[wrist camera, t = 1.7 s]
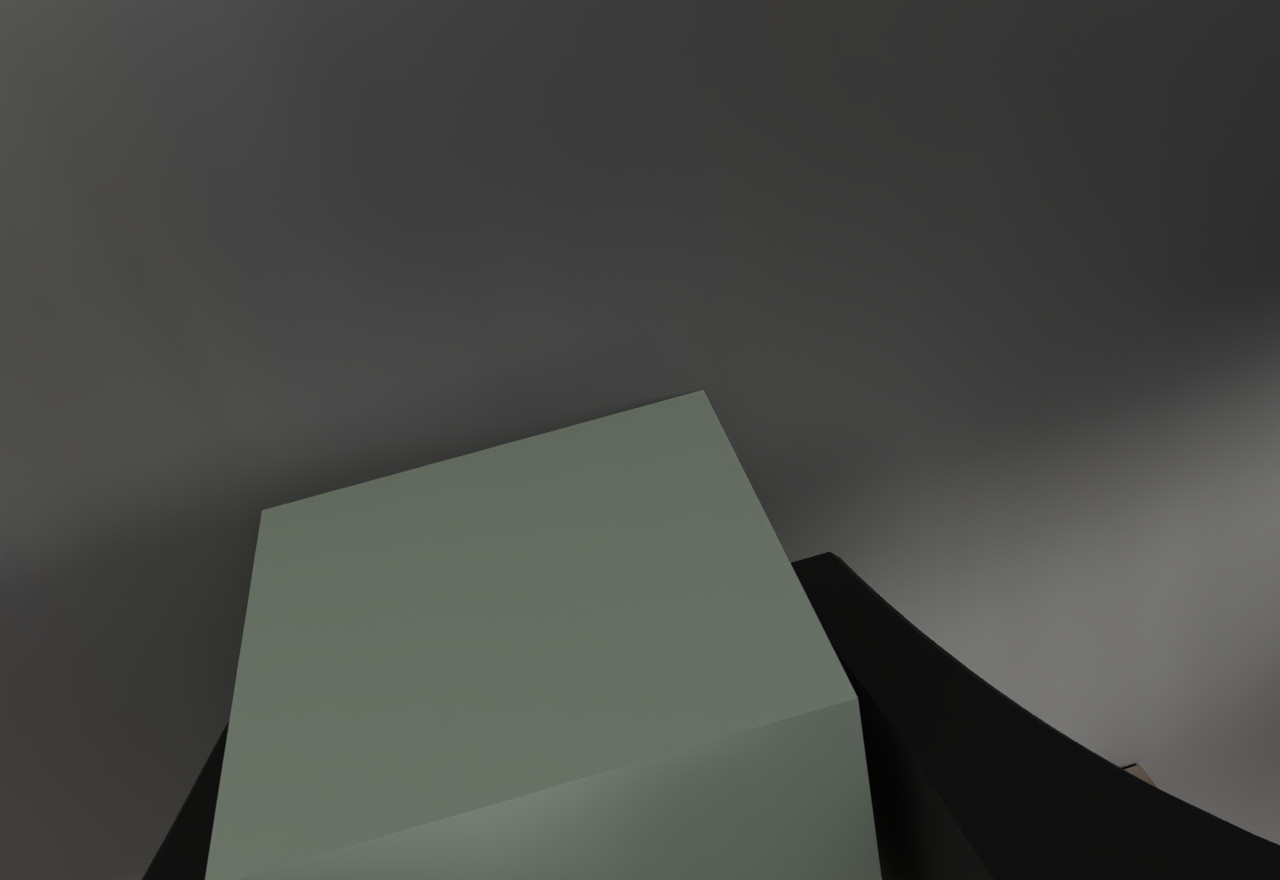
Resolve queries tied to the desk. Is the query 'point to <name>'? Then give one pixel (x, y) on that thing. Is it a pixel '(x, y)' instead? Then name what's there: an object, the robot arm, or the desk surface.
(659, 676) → the sage cube
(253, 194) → the desk surface
